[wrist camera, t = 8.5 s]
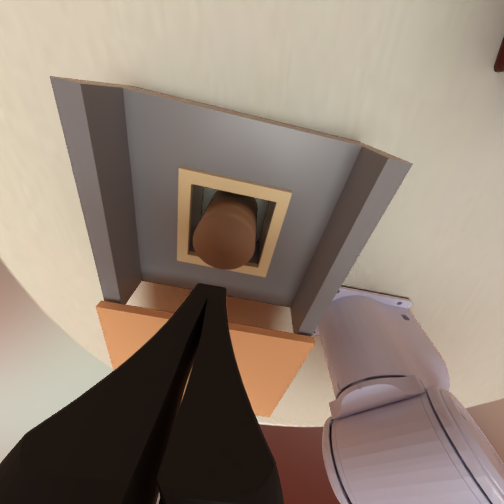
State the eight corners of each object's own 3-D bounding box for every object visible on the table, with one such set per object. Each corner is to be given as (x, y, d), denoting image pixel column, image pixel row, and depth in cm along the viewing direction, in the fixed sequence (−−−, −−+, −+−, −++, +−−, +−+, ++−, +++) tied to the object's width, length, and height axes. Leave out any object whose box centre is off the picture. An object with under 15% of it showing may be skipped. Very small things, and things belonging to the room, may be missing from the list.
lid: (313, 337, 17) (317, 353, 16) (269, 410, 25) (269, 425, 24) (101, 300, 16) (88, 316, 15) (123, 390, 24) (116, 404, 23)
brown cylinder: (262, 190, 18) (261, 224, 13) (252, 232, 20) (248, 274, 16) (213, 180, 18) (194, 210, 13) (209, 223, 20) (191, 263, 15)
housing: (360, 141, 16) (412, 163, 10) (298, 284, 24) (308, 341, 18) (132, 86, 15) (49, 76, 9) (145, 255, 22) (105, 306, 17)
